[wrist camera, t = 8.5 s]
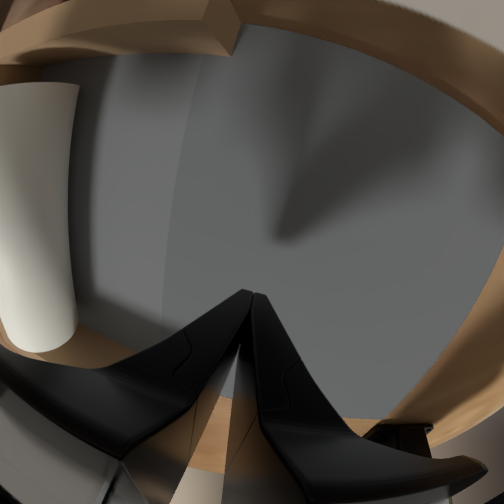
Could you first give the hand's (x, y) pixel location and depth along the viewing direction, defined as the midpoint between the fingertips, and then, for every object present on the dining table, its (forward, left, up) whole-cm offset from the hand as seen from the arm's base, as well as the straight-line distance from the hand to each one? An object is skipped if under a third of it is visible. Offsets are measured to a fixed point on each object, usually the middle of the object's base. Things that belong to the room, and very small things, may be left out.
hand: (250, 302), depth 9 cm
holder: (0, +2, -3) cm, 3 cm away
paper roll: (0, +11, 0) cm, 11 cm away
